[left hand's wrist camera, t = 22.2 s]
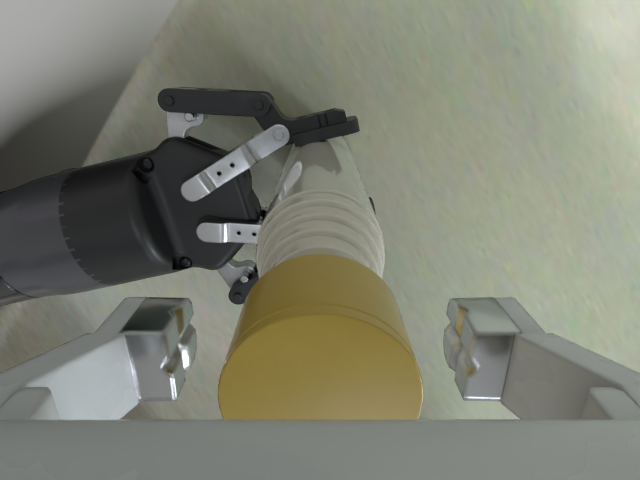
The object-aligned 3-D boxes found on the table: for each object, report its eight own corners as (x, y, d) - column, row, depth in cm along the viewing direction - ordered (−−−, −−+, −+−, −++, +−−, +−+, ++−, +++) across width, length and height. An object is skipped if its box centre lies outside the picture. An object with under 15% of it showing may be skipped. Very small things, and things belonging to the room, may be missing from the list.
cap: (329, 410, 11) (331, 501, 9) (210, 332, 10) (177, 411, 8) (432, 316, 10) (466, 392, 8) (310, 219, 9) (305, 271, 7)
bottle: (354, 130, 30) (454, 295, 8) (345, 190, 31) (404, 466, 9) (293, 122, 29) (215, 267, 7) (287, 182, 31) (207, 446, 9)
